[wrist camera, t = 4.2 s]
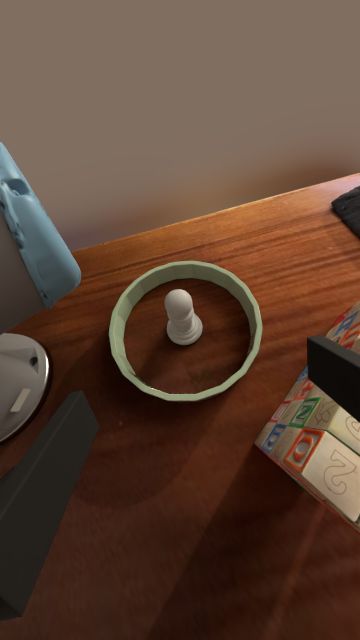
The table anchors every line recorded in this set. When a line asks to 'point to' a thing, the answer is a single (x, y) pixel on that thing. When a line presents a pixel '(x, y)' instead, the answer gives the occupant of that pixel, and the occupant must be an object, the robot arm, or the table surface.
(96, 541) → the table surface
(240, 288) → the green faceted ring
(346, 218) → the black pouch
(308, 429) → the stack of blocks
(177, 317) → the chess piece
